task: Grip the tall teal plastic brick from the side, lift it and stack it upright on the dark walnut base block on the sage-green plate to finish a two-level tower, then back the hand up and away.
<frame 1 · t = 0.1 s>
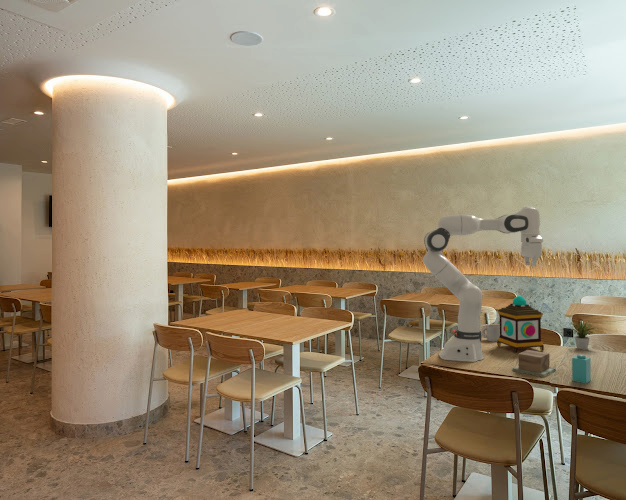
hand: (530, 265, 229), 48 cm above the table, tool pointing down, fingers open, 8 cm apart
teal brick: (581, 380, 195), on the table
house plant: (581, 349, 247), on the table
cup: (490, 340, 272), on the table
decorative lantern: (519, 349, 250), on the table
tower base: (534, 370, 210), on the table
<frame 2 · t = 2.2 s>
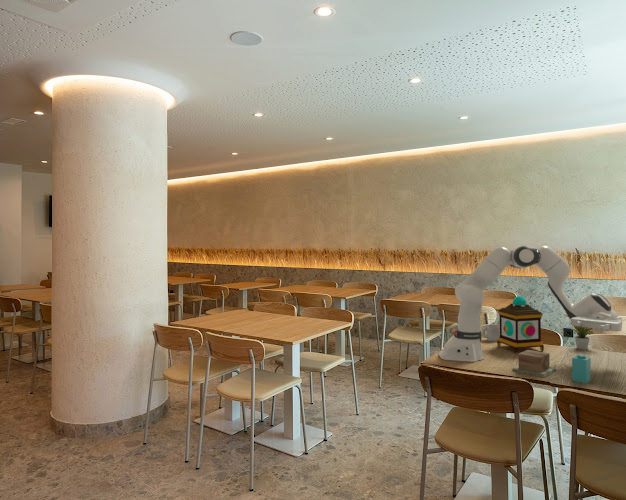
hand: (590, 326, 202), 22 cm above the table, tool horizontal, fingers open, 8 cm apart
nothing on the table moved.
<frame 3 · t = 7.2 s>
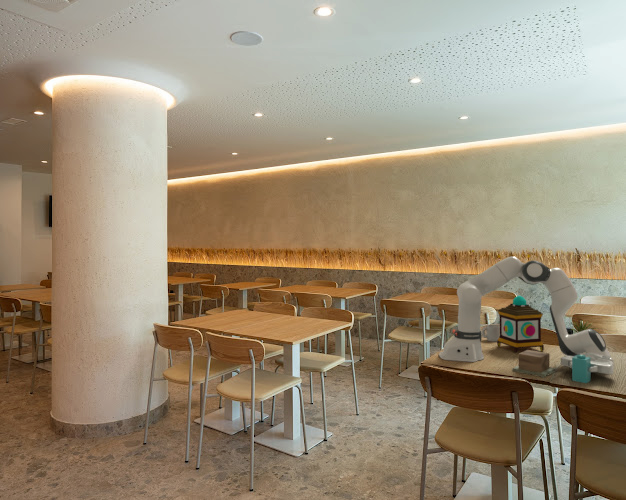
hand: (580, 368, 194), 6 cm above the table, tool horizontal, fingers closed on teal brick, 5 cm apart
teal brick: (581, 380, 195), on the table, touching gripper
everything else where it was.
when the fingers open (15 cm above the table, at t = 12.5 s): teal brick drops 1 cm, resting on tower base.
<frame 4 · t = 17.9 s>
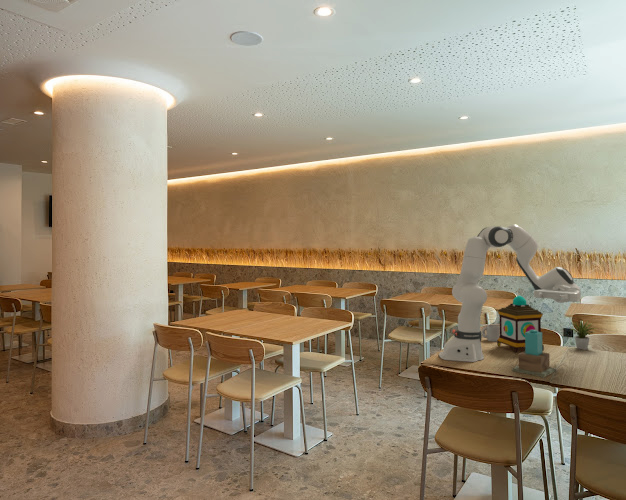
hand: (550, 296, 215), 34 cm above the table, tool horizontal, fingers open, 8 cm apart
teal brick: (533, 353, 209), point 8 cm above the table, touching tower base
everything else where it was.
at the end: teal brick 0.0 cm off-centre on the tower base, point 8.2 cm above the tower base's base; teal brick tilted 0°; the gripper is holding nothing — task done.
